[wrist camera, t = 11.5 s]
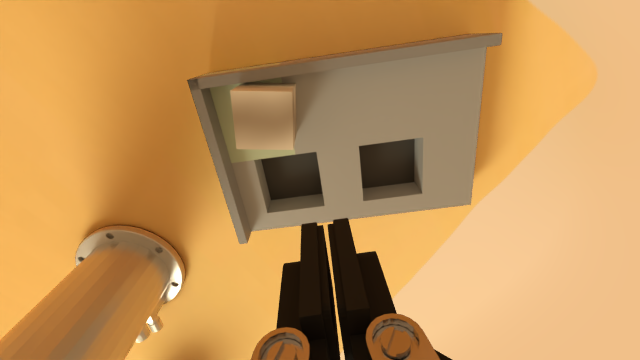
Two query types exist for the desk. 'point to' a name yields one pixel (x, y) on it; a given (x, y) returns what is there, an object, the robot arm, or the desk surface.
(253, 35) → the desk surface
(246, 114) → the block
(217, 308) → the desk surface
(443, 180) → the trap board
